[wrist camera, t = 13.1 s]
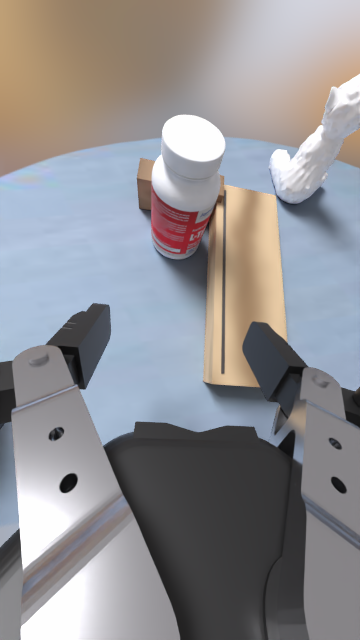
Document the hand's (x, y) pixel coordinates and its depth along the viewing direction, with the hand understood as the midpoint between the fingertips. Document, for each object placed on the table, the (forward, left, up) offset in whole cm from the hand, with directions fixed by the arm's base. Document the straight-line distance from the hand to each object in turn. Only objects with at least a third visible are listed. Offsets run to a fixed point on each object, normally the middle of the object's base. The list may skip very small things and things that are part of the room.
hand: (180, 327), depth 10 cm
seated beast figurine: (-17, -27, -10) cm, 33 cm away
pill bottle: (0, -14, -10) cm, 17 cm away
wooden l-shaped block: (-4, -9, -10) cm, 14 cm away
